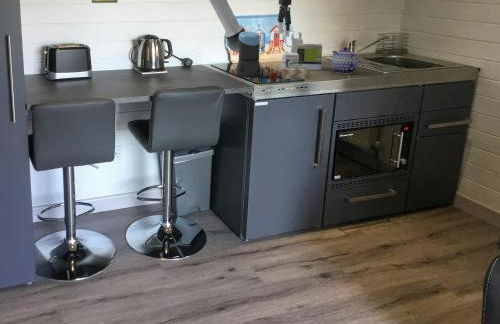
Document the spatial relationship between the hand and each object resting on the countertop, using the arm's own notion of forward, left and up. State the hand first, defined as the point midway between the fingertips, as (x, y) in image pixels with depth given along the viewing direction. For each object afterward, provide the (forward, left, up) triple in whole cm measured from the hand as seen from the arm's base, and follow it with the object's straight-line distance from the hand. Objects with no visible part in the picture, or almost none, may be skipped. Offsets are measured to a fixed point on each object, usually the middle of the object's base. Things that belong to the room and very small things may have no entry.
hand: (283, 34), depth 342 cm
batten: (-1, -30, -20) cm, 36 cm away
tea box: (+17, 0, -21) cm, 27 cm away
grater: (+13, +18, -20) cm, 30 cm away
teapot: (+34, -15, -20) cm, 42 cm away
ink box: (0, -17, -20) cm, 26 cm away
